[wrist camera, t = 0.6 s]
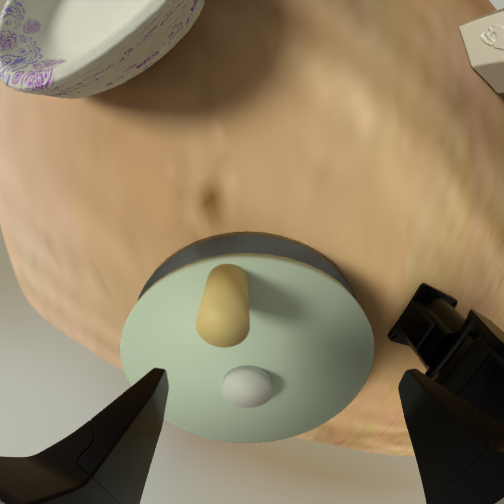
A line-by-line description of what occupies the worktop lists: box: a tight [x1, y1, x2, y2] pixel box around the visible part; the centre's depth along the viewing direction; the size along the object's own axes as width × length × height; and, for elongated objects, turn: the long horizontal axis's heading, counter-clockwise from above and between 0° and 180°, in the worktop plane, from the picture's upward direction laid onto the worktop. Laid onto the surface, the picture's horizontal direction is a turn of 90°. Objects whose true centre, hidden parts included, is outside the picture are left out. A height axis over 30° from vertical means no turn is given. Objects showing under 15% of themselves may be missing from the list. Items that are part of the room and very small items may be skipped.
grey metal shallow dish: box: [138, 232, 356, 301], centre depth 22 cm, size 20×20×4 cm
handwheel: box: [120, 253, 375, 443], centre depth 18 cm, size 20×20×6 cm
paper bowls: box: [0, 0, 205, 99], centre depth 10 cm, size 15×15×8 cm
